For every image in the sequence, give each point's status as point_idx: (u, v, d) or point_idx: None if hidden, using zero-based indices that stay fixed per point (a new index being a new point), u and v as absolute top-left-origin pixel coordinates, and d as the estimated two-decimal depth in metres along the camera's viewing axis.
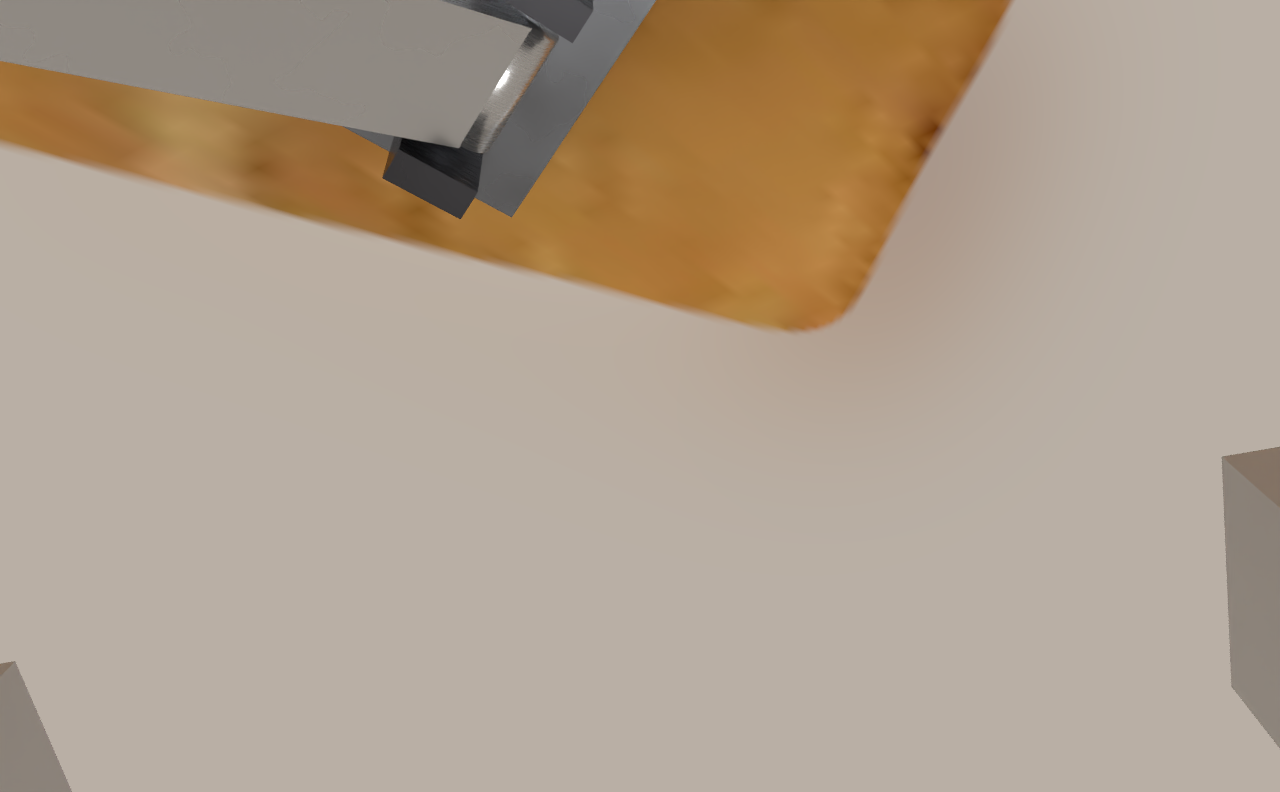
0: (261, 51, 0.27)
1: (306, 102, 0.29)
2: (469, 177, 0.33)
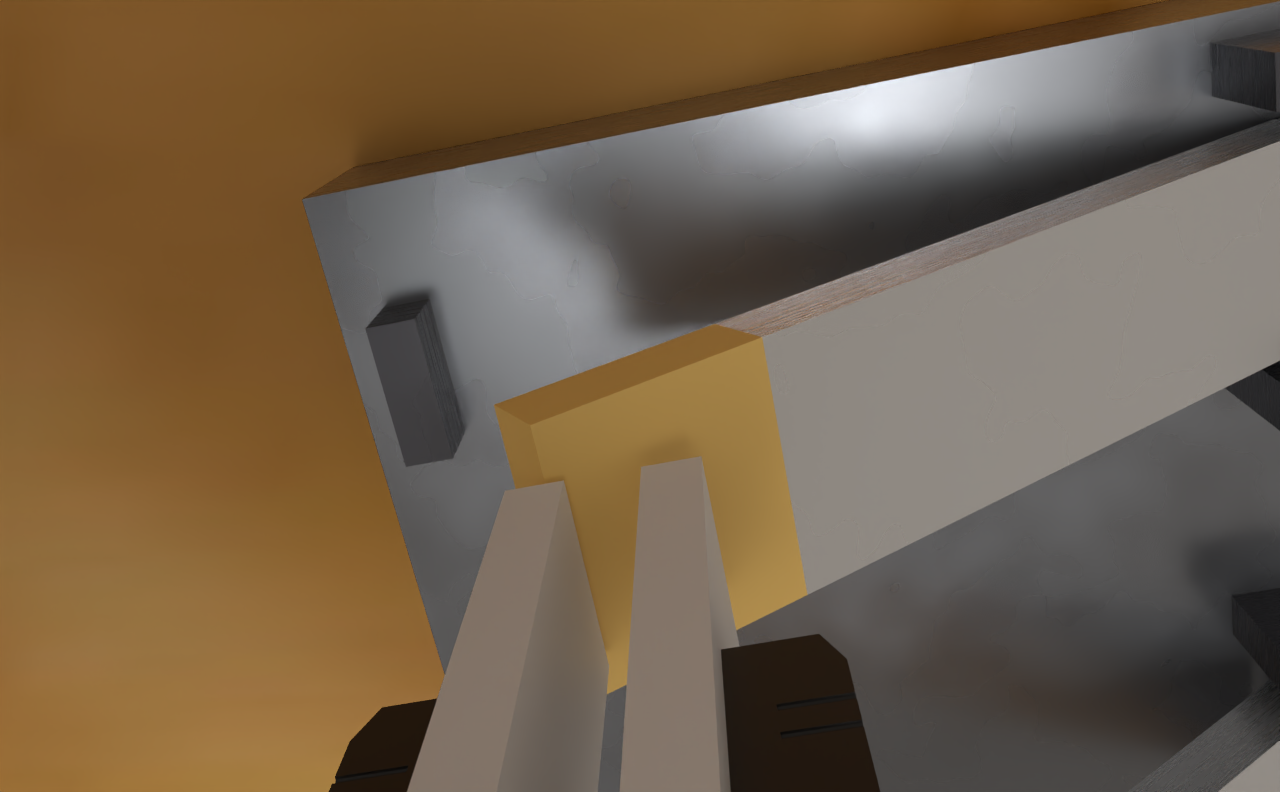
0: None
1: None
2: None
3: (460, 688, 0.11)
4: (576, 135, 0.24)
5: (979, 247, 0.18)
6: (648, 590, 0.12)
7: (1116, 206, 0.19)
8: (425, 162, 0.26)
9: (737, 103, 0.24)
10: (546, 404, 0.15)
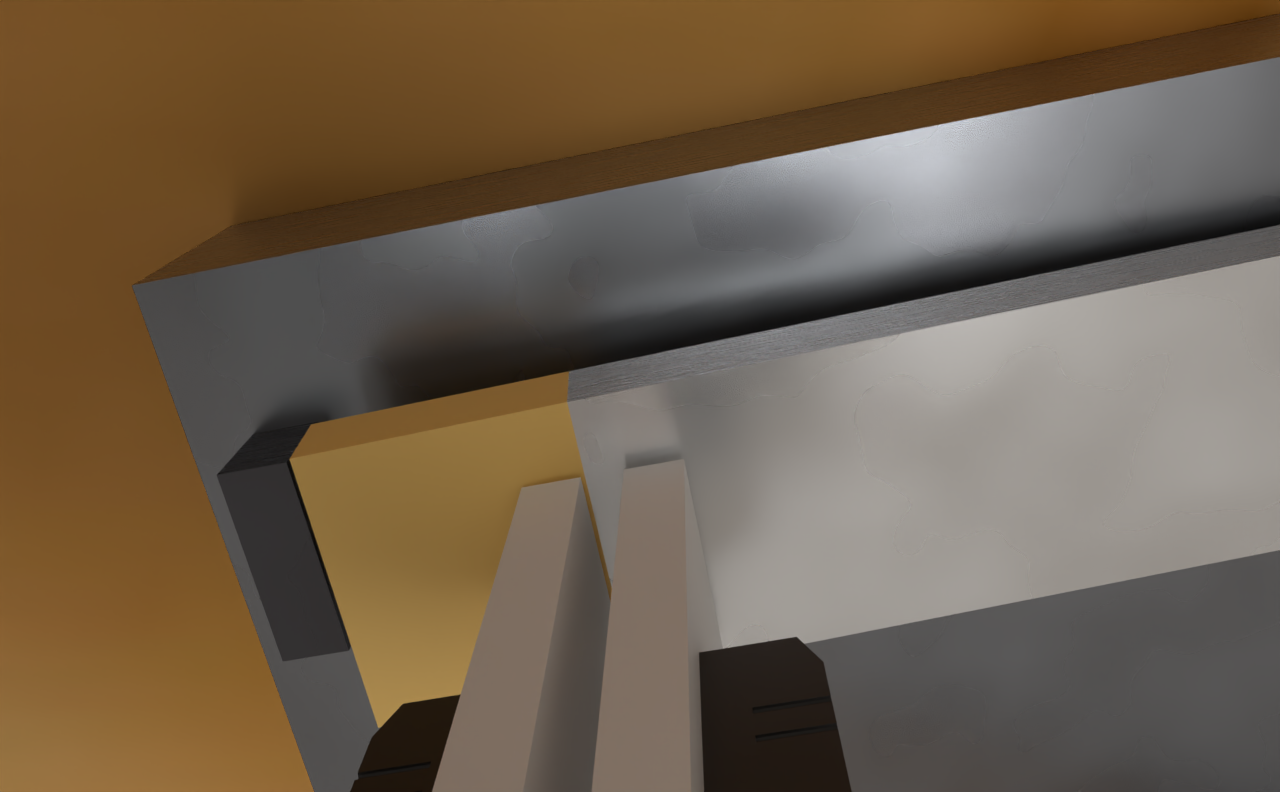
0: None
1: None
2: None
3: (483, 684, 0.11)
4: (523, 191, 0.17)
5: (902, 325, 0.15)
6: (626, 593, 0.12)
7: (1126, 291, 0.14)
8: (317, 226, 0.18)
9: (750, 147, 0.17)
10: (331, 437, 0.15)
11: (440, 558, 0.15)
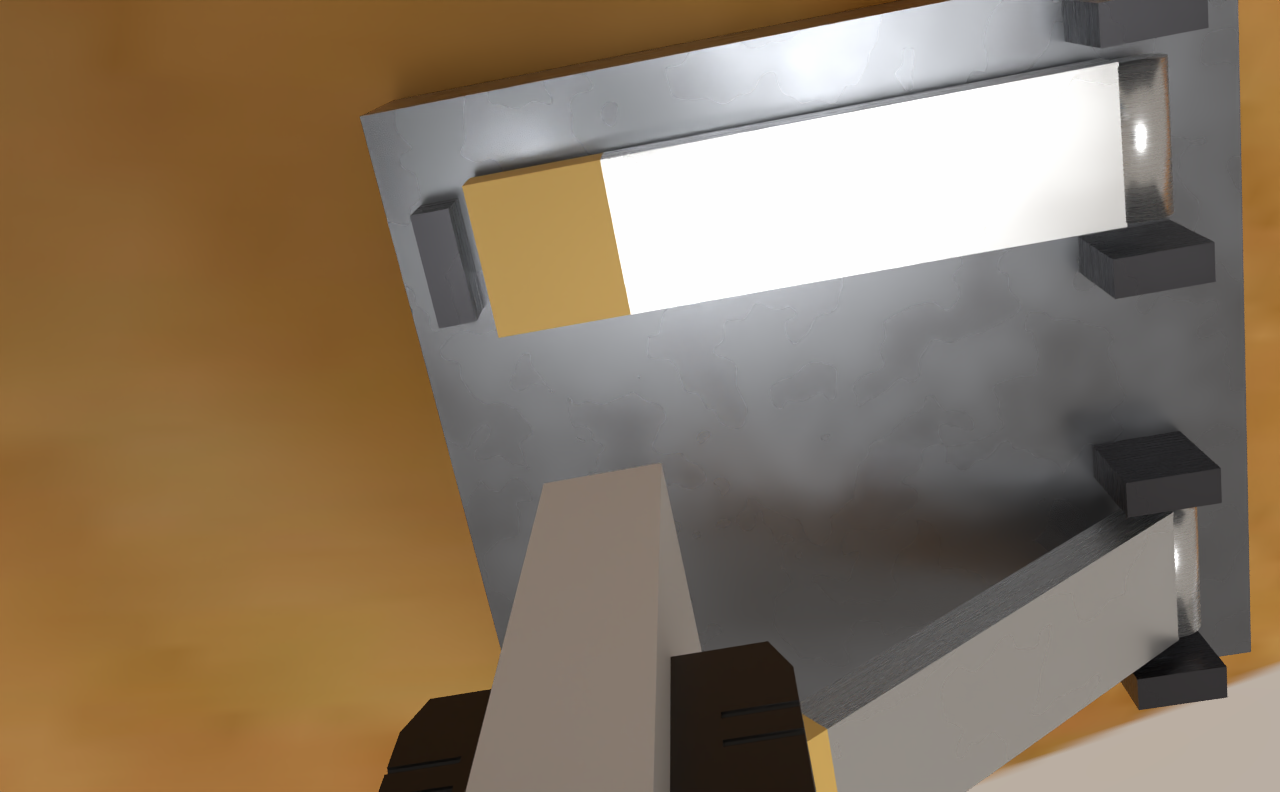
0: (1012, 703, 0.29)
1: (1059, 708, 0.30)
2: (1206, 657, 0.33)
3: (514, 678, 0.10)
4: (575, 70, 0.31)
5: (769, 126, 0.29)
6: (598, 597, 0.12)
7: (881, 109, 0.28)
8: (454, 92, 0.32)
9: (701, 46, 0.31)
10: (482, 179, 0.30)
11: (533, 243, 0.30)
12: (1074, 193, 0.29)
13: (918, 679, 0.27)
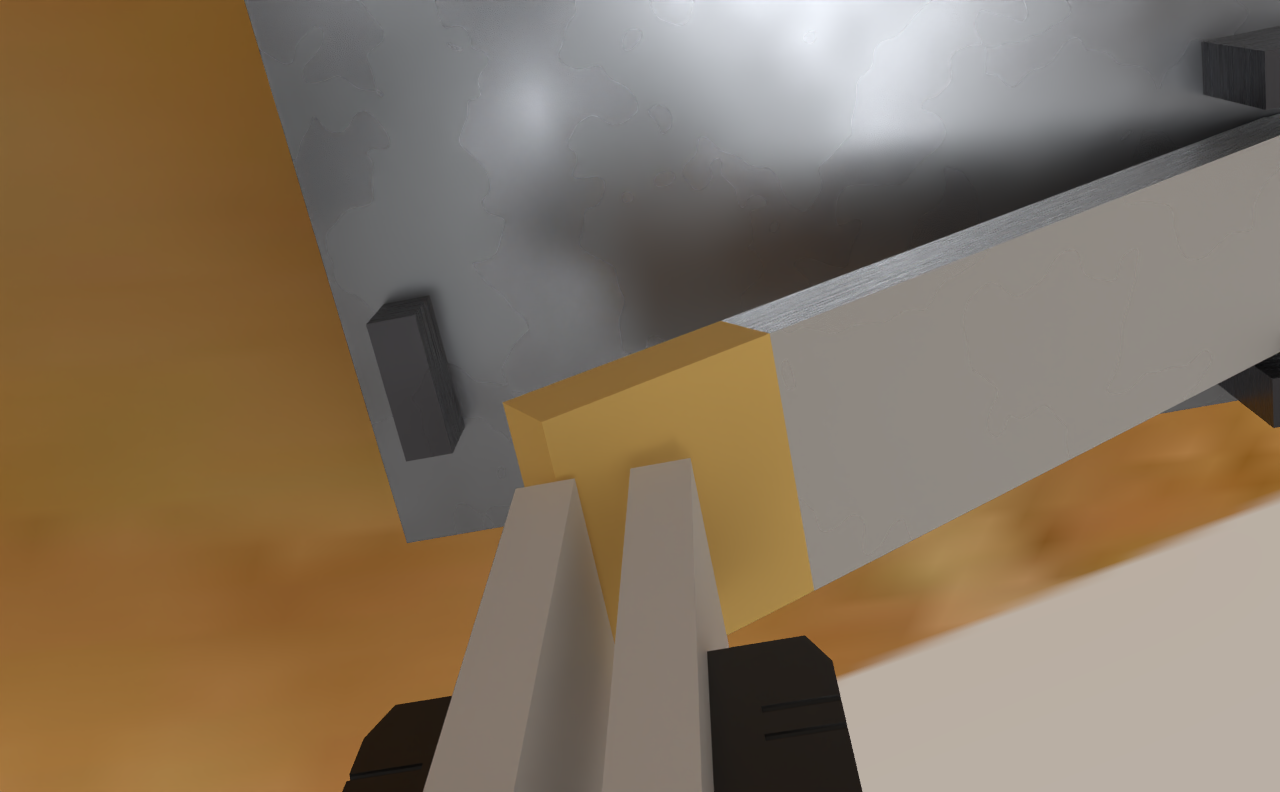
0: (1077, 364, 0.19)
1: (1150, 392, 0.20)
2: None
3: (475, 685, 0.11)
4: None
5: None
6: (634, 592, 0.12)
7: None
8: None
9: None
10: None
11: None
12: None
13: (924, 286, 0.17)
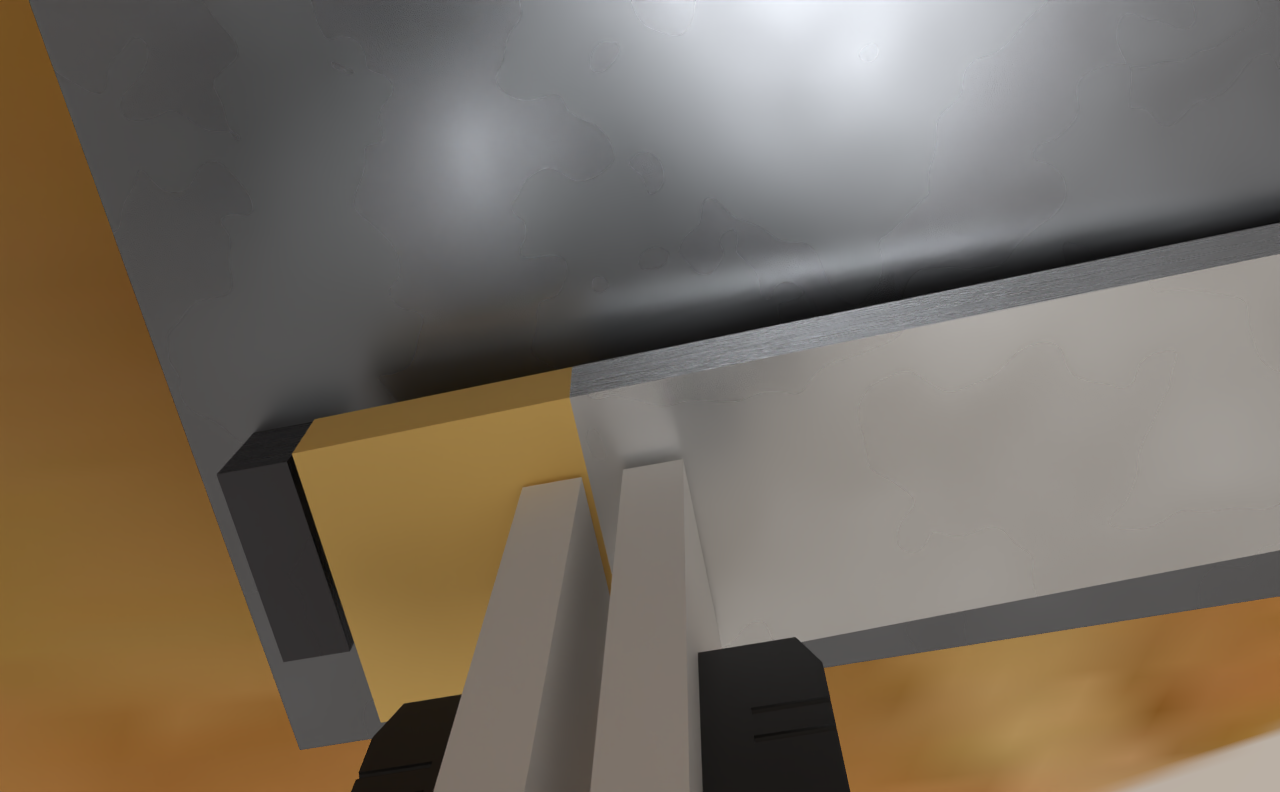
0: (1055, 485, 0.15)
1: (1190, 535, 0.15)
2: None
3: (484, 683, 0.11)
4: None
5: None
6: (625, 593, 0.12)
7: None
8: None
9: None
10: None
11: None
12: None
13: (796, 366, 0.14)
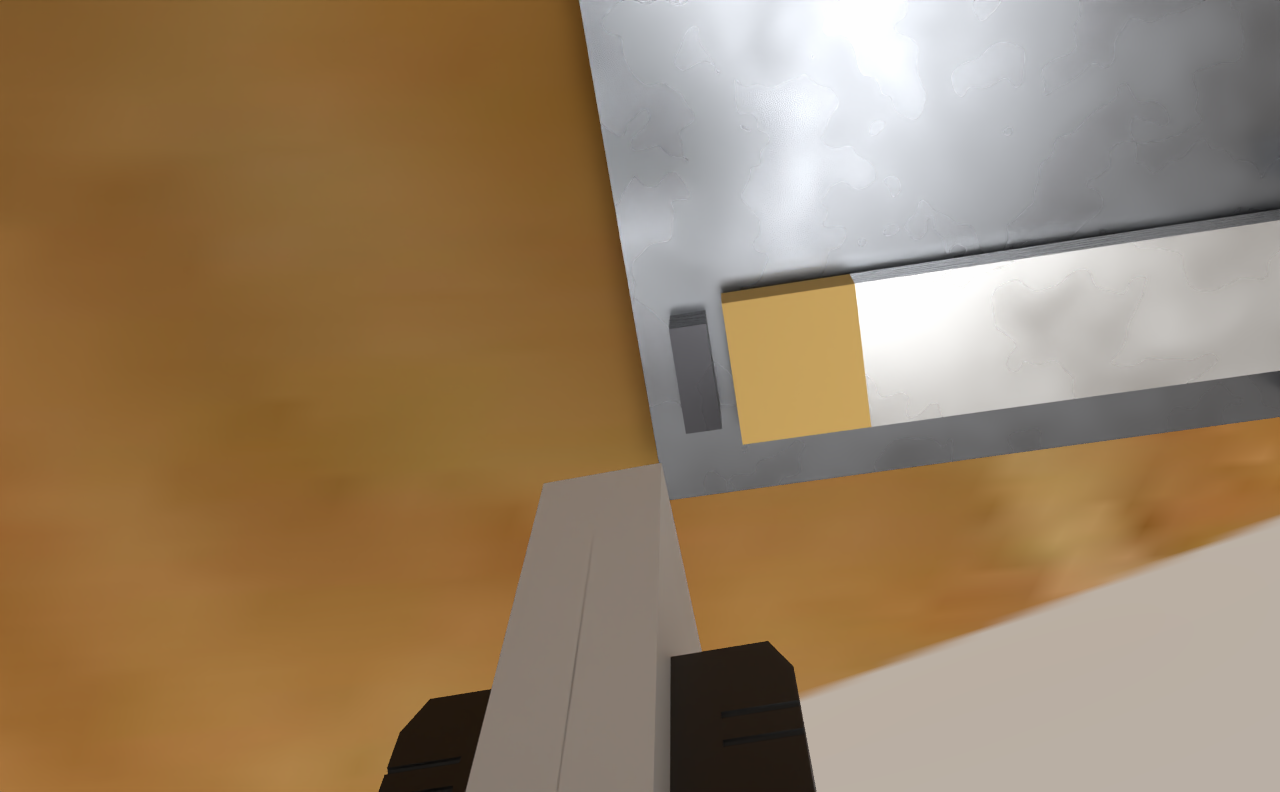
0: (1085, 341, 0.31)
1: (1152, 371, 0.31)
2: None
3: (513, 679, 0.10)
4: None
5: None
6: (598, 597, 0.12)
7: None
8: None
9: None
10: None
11: None
12: None
13: (963, 274, 0.31)
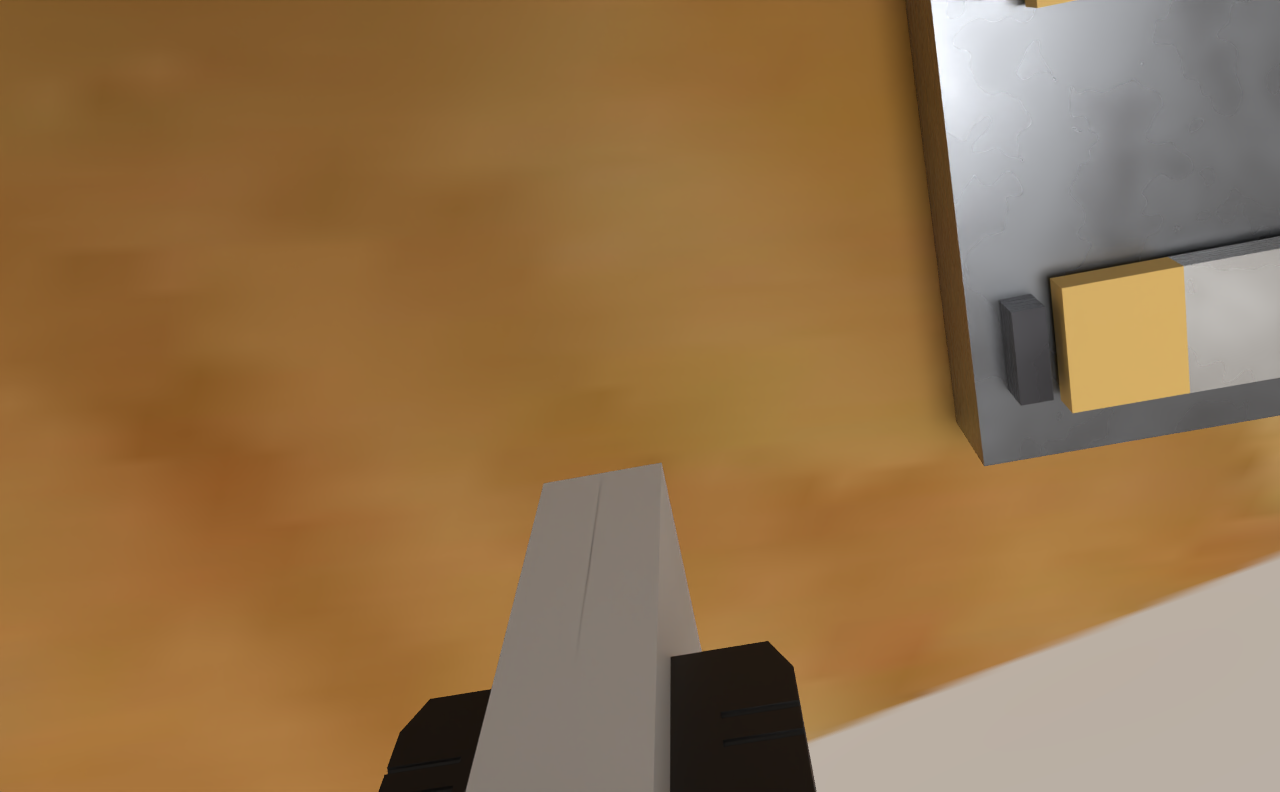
0: None
1: None
2: None
3: (514, 678, 0.10)
4: None
5: None
6: (598, 597, 0.12)
7: None
8: None
9: None
10: None
11: None
12: None
13: None
